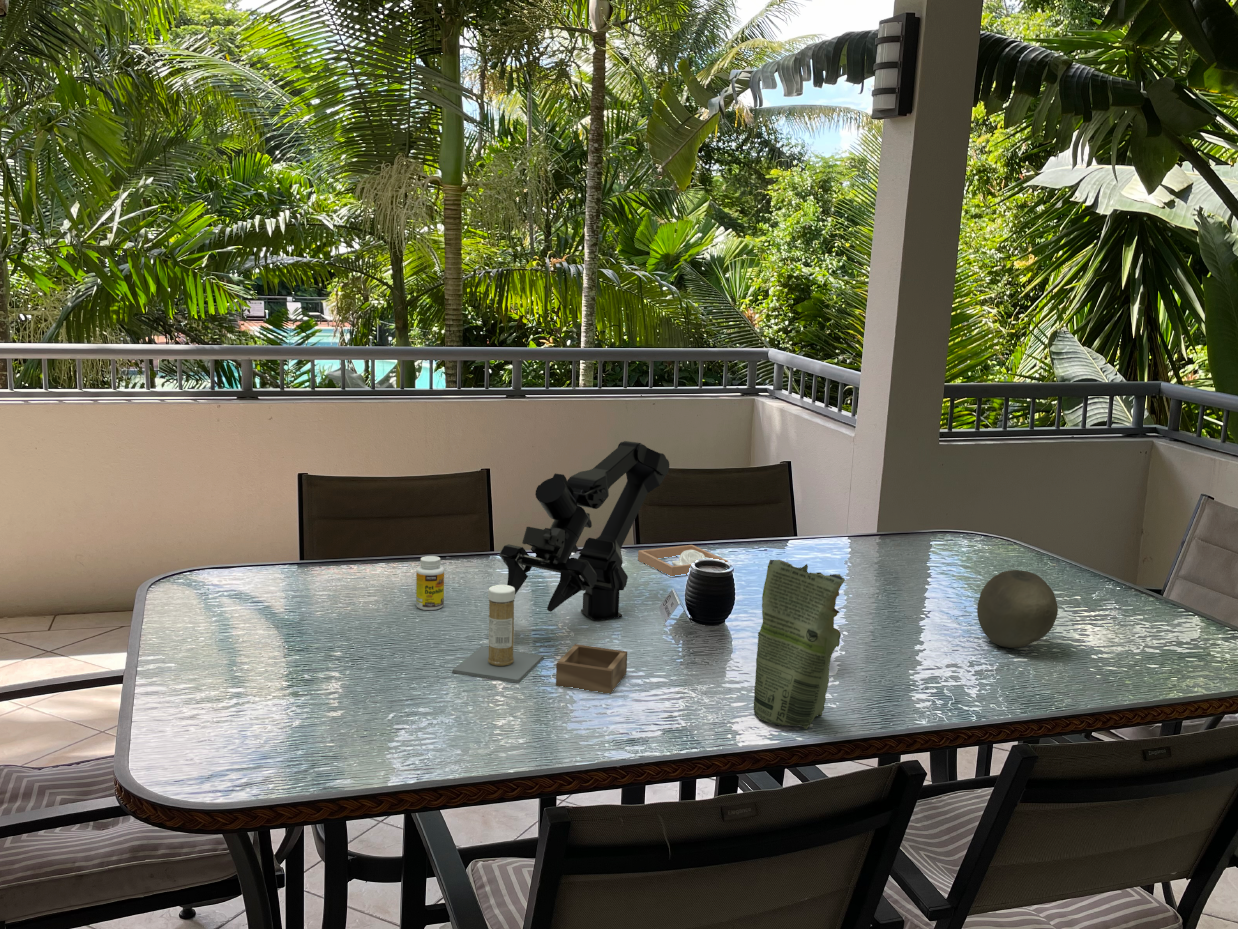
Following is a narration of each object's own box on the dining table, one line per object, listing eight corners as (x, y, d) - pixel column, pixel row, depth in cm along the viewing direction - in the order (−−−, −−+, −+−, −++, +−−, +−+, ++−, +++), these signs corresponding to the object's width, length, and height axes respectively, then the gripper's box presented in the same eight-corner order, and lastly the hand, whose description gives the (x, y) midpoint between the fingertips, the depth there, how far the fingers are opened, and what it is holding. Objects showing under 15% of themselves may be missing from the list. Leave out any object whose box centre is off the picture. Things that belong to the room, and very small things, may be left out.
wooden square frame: (691, 554, 250) (692, 544, 249) (727, 570, 236) (727, 560, 236) (637, 560, 242) (638, 550, 242) (671, 577, 229) (671, 567, 229)
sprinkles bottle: (516, 658, 175) (517, 584, 172) (511, 667, 170) (512, 592, 168) (490, 656, 175) (491, 583, 173) (484, 666, 171) (485, 590, 168)
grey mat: (481, 649, 180) (481, 646, 180) (543, 658, 177) (543, 655, 177) (452, 673, 169) (452, 669, 169) (518, 683, 165) (518, 679, 165)
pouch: (749, 701, 162) (759, 552, 157) (823, 704, 162) (835, 555, 157) (757, 731, 151) (767, 572, 146) (836, 734, 151) (849, 576, 146)
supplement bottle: (422, 612, 199) (422, 563, 197) (412, 605, 203) (412, 556, 201) (448, 608, 202) (448, 560, 200) (437, 601, 206) (437, 553, 204)
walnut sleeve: (574, 665, 174) (575, 644, 173) (626, 673, 171) (627, 651, 171) (555, 685, 165) (556, 663, 164) (610, 694, 162) (611, 671, 162)
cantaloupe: (973, 653, 188) (981, 576, 185) (974, 630, 201) (981, 558, 198) (1054, 665, 183) (1063, 587, 180) (1049, 641, 196) (1058, 567, 193)
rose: (703, 544, 244) (722, 554, 235) (702, 561, 245) (721, 572, 236) (666, 546, 240) (684, 557, 231) (665, 564, 241) (683, 575, 232)
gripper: (506, 501, 184) (466, 572, 177) (590, 517, 175) (552, 592, 167) (530, 534, 192) (493, 604, 185) (612, 551, 183) (577, 624, 175)
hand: (527, 605), depth 178 cm, fingers open, 9 cm apart
